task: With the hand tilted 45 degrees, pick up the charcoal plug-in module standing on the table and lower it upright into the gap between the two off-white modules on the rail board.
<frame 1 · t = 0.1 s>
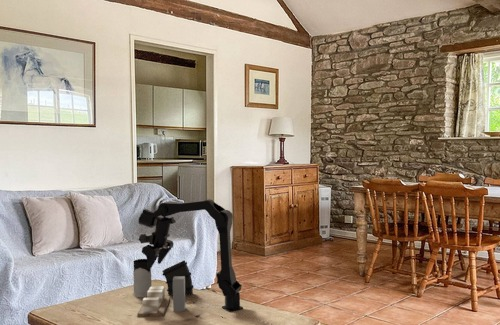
hand: (154, 266, 204), 15 cm above the table, tool pointing down, fingers open, 9 cm apart
rail board: (153, 310, 195), on the table
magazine: (178, 294, 216), on the table
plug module: (179, 309, 195), on the table
glass holder: (144, 292, 220), on the table
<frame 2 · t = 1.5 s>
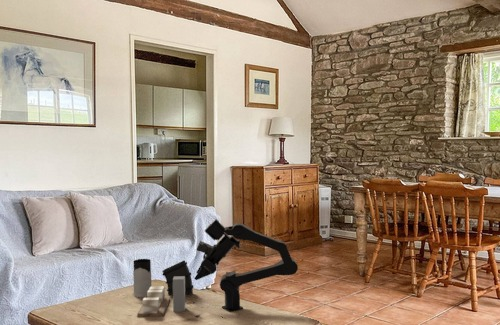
hand: (196, 276, 195), 13 cm above the table, tool tilted 45°, fingers open, 9 cm apart
nothing on the table moved.
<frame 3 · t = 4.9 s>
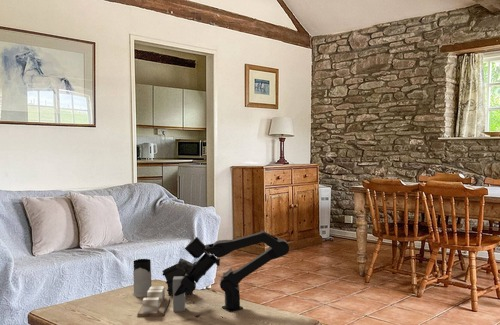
hand: (175, 293, 195), 7 cm above the table, tool tilted 45°, fingers closed on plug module, 4 cm apart
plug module: (179, 309, 195), on the table, touching gripper
everything else where it was.
when the fingers open (9 cm above the table, at t = 9.2 s): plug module drops 1 cm, resting on rail board.
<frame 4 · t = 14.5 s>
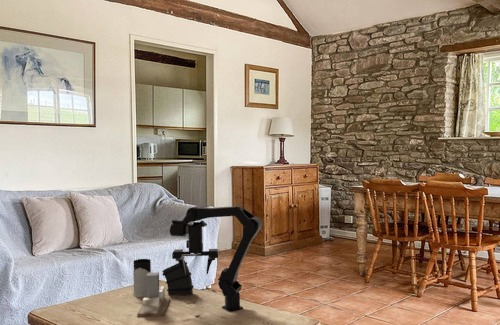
hand: (195, 274, 200), 13 cm above the table, tool pointing down, fingers open, 9 cm apart
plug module: (153, 305, 195), point 2 cm above the table, touching rail board
everything else where it was.
at the end: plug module 0.0 cm off-centre on the rail board, point 1.8 cm above the rail board's base; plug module tilted 0°; the gripper is holding nothing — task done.
